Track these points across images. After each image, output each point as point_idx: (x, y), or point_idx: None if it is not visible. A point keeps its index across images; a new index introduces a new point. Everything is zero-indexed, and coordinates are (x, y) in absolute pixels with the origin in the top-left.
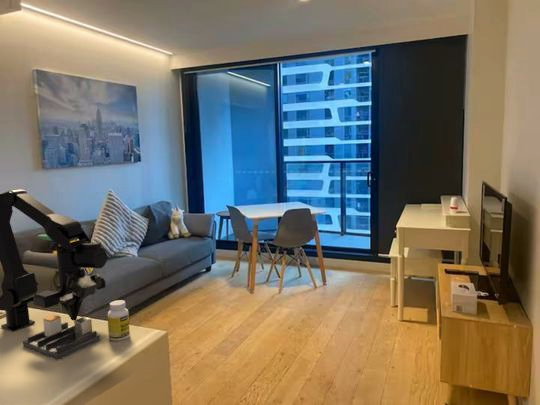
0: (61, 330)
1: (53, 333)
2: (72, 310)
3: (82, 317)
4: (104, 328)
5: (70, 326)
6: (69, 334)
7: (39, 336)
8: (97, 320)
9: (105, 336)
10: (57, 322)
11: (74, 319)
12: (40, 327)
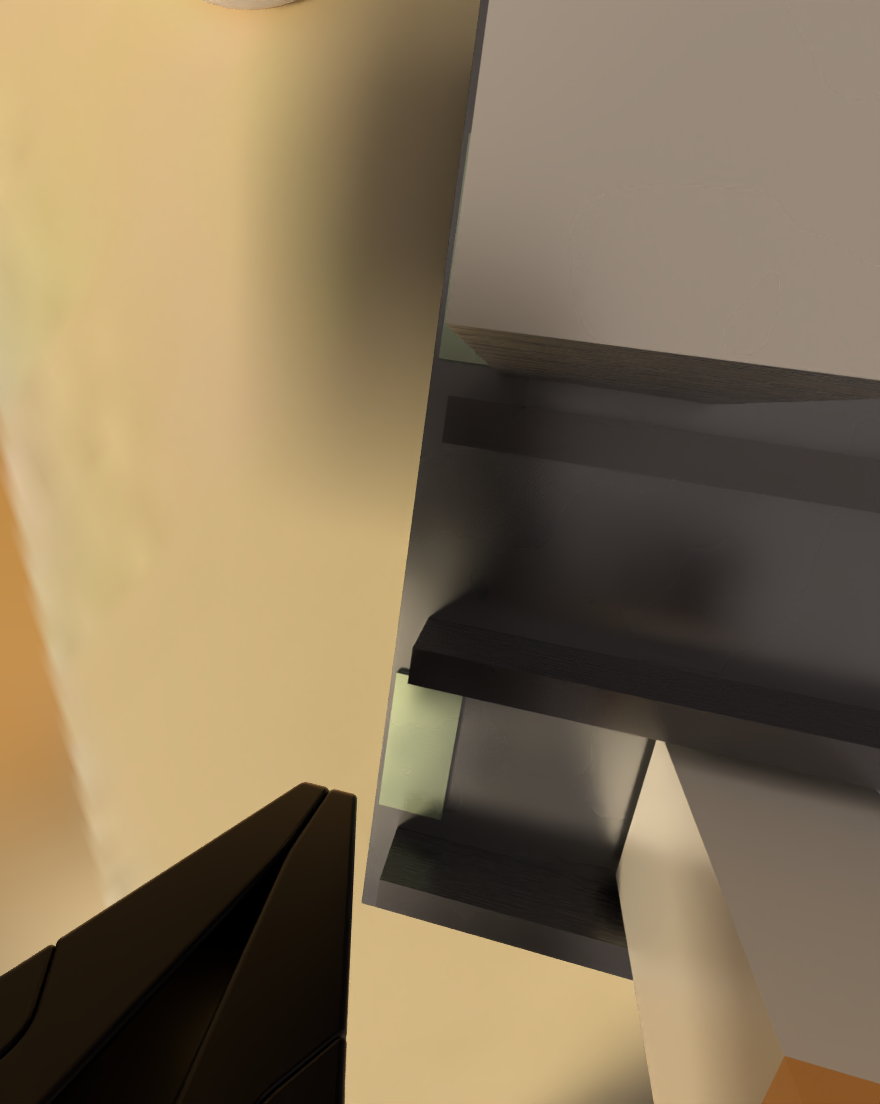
0: (679, 770)
1: (856, 812)
2: (301, 1031)
3: (550, 307)
4: (159, 376)
5: (397, 786)
6: (833, 476)
7: None
8: (56, 654)
9: (342, 108)
10: (860, 973)
11: (341, 798)
12: (446, 1100)
